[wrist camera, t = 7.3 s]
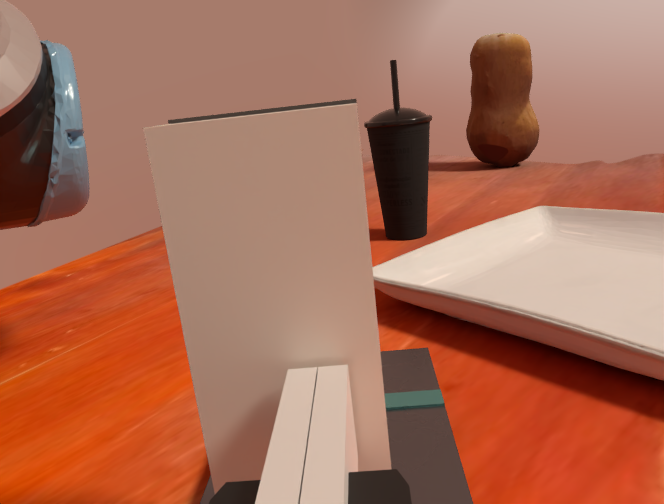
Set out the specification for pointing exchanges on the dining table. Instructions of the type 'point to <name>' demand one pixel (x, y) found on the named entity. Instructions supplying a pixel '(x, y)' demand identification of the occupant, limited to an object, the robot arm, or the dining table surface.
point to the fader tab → (270, 270)
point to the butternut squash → (501, 100)
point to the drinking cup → (401, 166)
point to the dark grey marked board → (416, 431)
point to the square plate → (550, 281)
